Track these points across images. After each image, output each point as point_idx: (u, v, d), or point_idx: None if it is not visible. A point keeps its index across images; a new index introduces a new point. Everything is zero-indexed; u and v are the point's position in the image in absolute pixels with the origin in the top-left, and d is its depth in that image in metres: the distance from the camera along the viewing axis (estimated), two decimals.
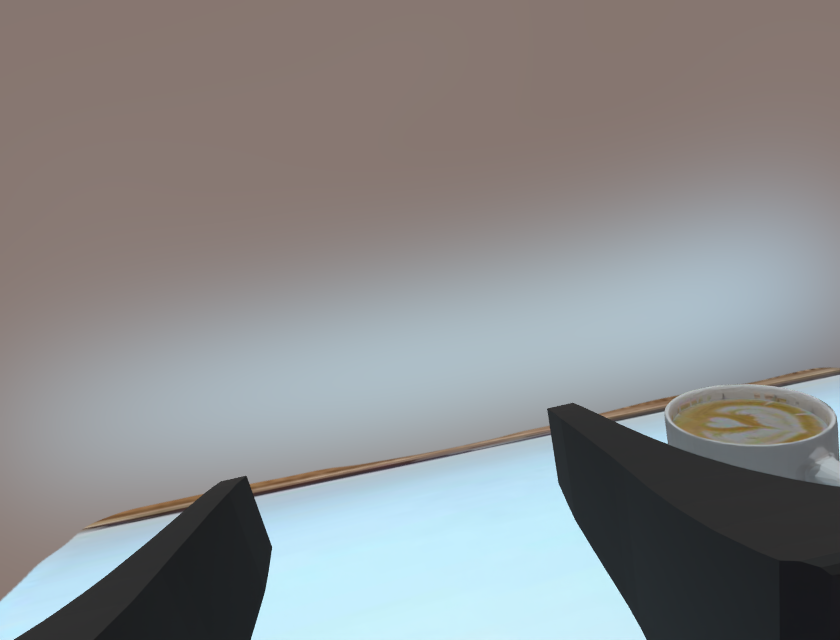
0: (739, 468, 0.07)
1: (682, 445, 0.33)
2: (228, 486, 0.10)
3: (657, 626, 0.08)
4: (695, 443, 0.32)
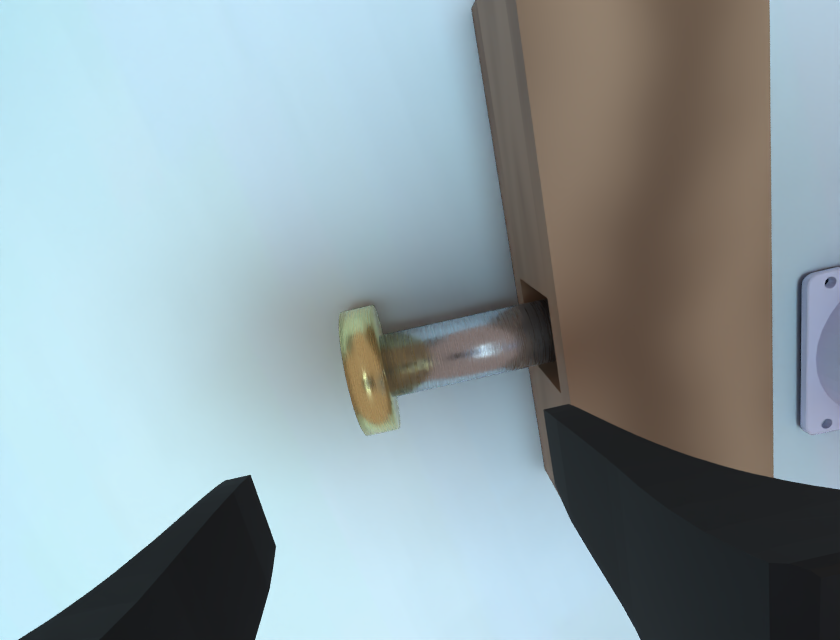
0: (732, 470, 0.07)
1: None
2: (233, 485, 0.10)
3: (651, 627, 0.08)
4: None
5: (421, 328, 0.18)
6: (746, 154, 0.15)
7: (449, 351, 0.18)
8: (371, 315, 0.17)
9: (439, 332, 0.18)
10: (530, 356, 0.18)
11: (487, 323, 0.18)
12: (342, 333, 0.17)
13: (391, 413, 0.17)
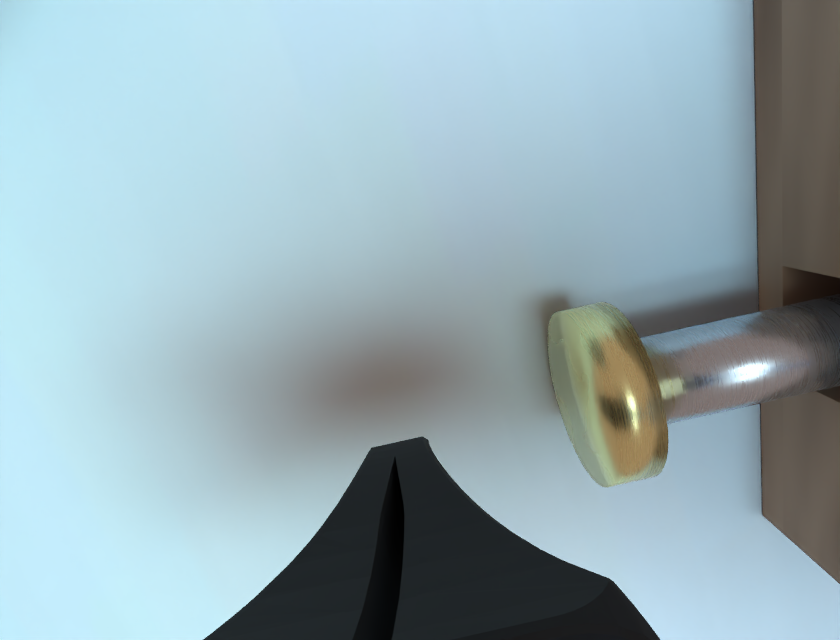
0: (494, 523, 0.07)
1: None
2: (388, 450, 0.10)
3: None
4: None
5: (676, 335, 0.13)
6: None
7: (733, 368, 0.12)
8: (622, 316, 0.12)
9: (710, 340, 0.13)
10: None
11: (780, 328, 0.13)
12: (592, 343, 0.12)
13: (664, 460, 0.12)
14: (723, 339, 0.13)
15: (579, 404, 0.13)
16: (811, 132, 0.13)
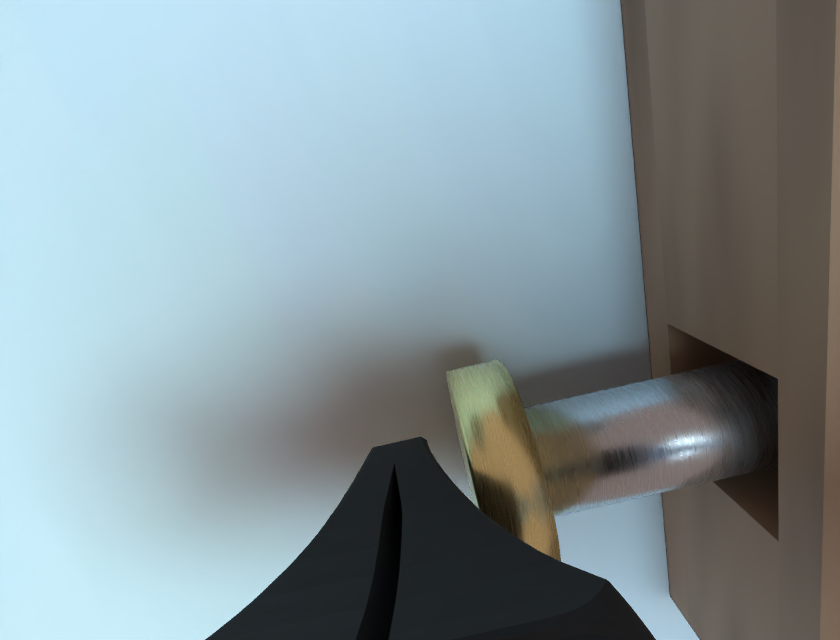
0: (491, 523, 0.07)
1: None
2: (389, 450, 0.10)
3: None
4: None
5: (588, 402, 0.11)
6: None
7: (650, 449, 0.10)
8: (513, 385, 0.10)
9: (626, 411, 0.10)
10: None
11: (711, 397, 0.10)
12: (468, 423, 0.09)
13: None
14: (642, 410, 0.10)
15: (472, 485, 0.11)
16: (681, 170, 0.10)
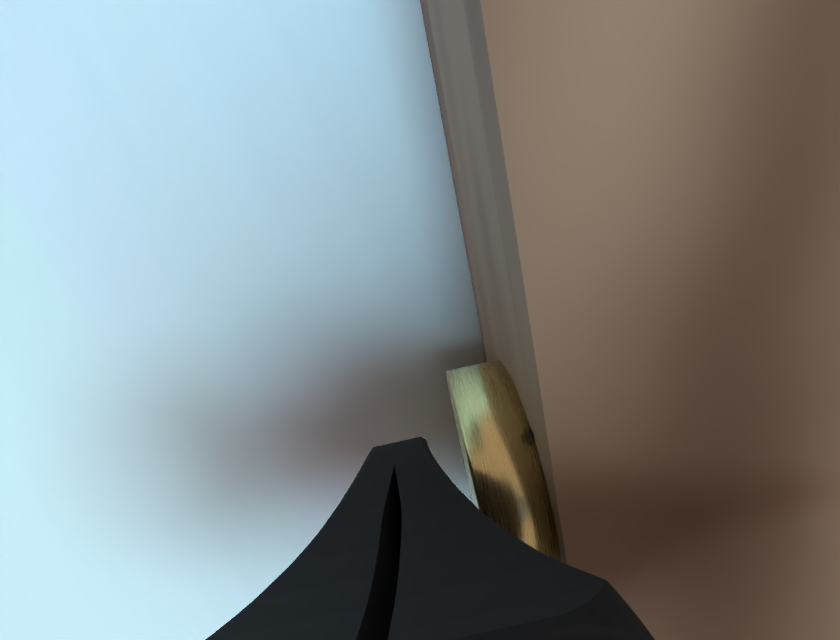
0: (491, 523, 0.07)
1: None
2: (389, 450, 0.10)
3: None
4: None
5: None
6: None
7: None
8: (513, 385, 0.10)
9: None
10: None
11: None
12: (468, 422, 0.09)
13: None
14: None
15: (472, 485, 0.11)
16: (472, 216, 0.10)
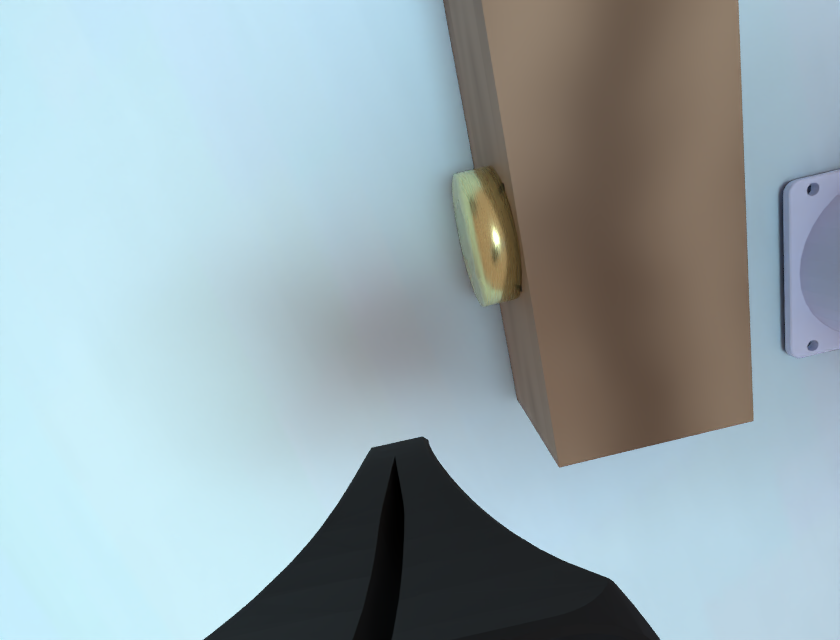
0: (494, 523, 0.07)
1: None
2: (388, 450, 0.10)
3: None
4: None
5: None
6: (712, 7, 0.13)
7: None
8: None
9: None
10: None
11: None
12: (466, 184, 0.16)
13: (520, 269, 0.16)
14: None
15: (469, 246, 0.17)
16: (467, 73, 0.17)
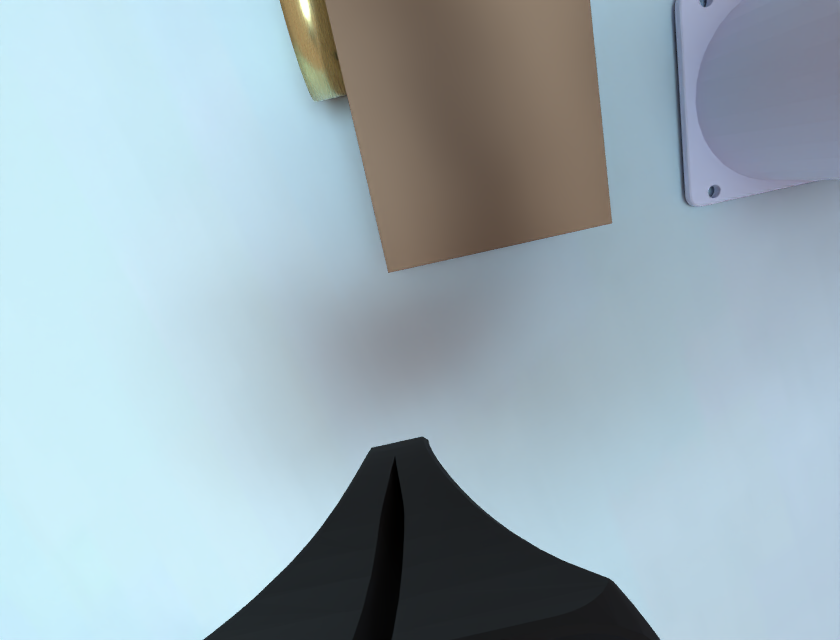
0: (494, 523, 0.07)
1: None
2: (388, 450, 0.10)
3: None
4: None
5: None
6: None
7: None
8: None
9: None
10: None
11: None
12: None
13: None
14: None
15: None
16: None
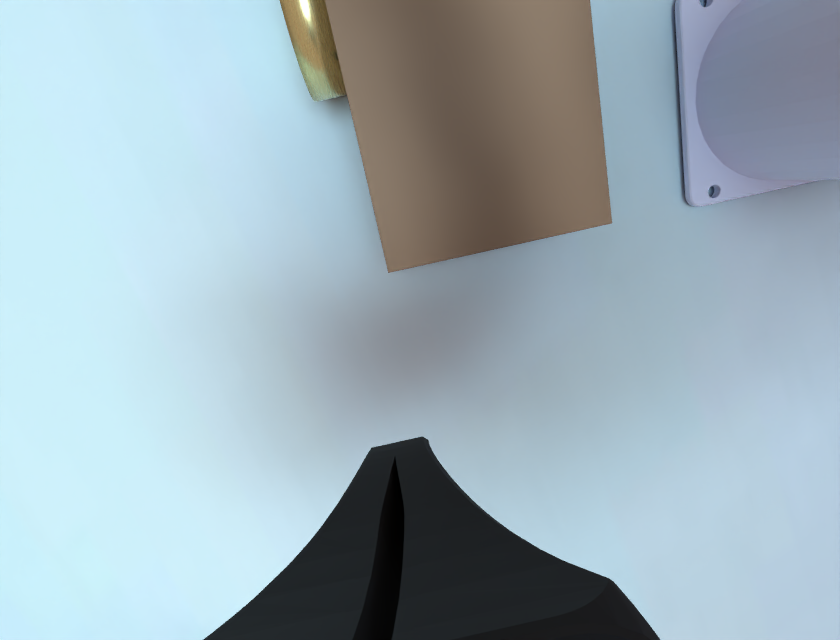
0: (494, 523, 0.07)
1: None
2: (388, 450, 0.10)
3: None
4: None
5: None
6: None
7: None
8: None
9: None
10: None
11: None
12: None
13: None
14: None
15: None
16: None
